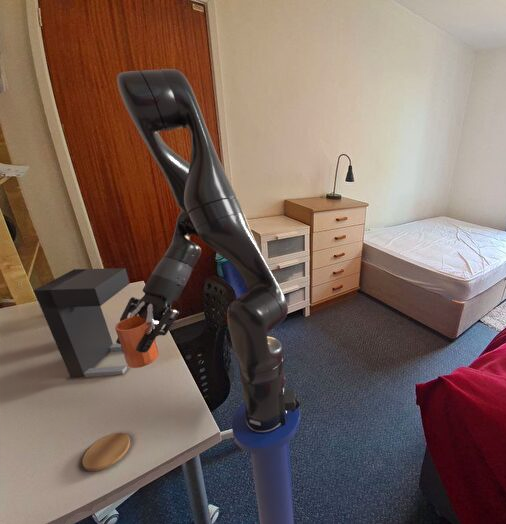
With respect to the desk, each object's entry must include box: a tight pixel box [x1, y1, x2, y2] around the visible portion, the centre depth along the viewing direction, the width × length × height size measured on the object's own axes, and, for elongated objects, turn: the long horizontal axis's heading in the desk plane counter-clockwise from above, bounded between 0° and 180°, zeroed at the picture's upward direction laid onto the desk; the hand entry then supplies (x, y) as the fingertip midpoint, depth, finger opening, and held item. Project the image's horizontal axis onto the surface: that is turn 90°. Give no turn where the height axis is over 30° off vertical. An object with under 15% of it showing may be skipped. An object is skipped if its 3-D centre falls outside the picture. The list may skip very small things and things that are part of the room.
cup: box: [114, 316, 159, 369], centre depth 64 cm, size 6×6×10 cm
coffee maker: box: [33, 267, 130, 379], centre depth 79 cm, size 13×13×27 cm
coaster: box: [81, 432, 131, 472], centre depth 58 cm, size 8×8×1 cm
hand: (130, 347), depth 62 cm, fingers closed on cup, 6 cm apart
